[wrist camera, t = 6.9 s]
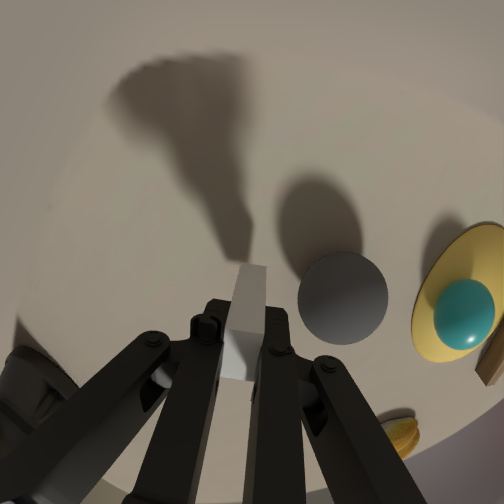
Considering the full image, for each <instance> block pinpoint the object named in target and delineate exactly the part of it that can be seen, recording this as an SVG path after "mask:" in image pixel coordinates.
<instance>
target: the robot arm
mask: <svg viewBox="0 0 504 504" xmlns="http://www.w3.org/2000/svg"><path fill="white" fill-rule="evenodd" d="M265 300H266V266H260V265H254V264H247V263H241V265H240V269H239V273H238V277H237V281H236V285H235V289H234V293H233V297H232V301H225V300H219V299H212V300H211V301H209V302H208V303H207V305H206V307H205V310H204V312H203V314H198V315H196V316H194V317H193V318H192V319H191V323H190V338H189V339H186V340H180V341H170V339H169V337H168V336H167V335H166V334H165V333H163V332H160V331H147V332H144V333H142V334H140V335H139V336H138V337H137V338H136V339H135V340H133V341H132V342H131V343H130V344H129V345H128V346H127V347H125V348H124V349H123V350H122V351H121V352H120V353H119V354H118V355H117V356H115V357H114V358H113V359H112V360H111V361H110V362H109V363H108V364H106V365H105V366H104V367H103V368H102V369H101V370H100V371H99V372H98V373H96V374H95V375H94V376H93V377H92V378H91V379H90V380H89V381H88V382H86V383H85V384H84V385H83V386H82V387H81V388H80V389H78V388H77V386H76V385H75V384H74V383H73V382H72V381H71V380H70V379H69V378H68V377H67V376H66V375H65V374H64V373H63V372H62V371H61V370H60V369H58V368H57V367H56V366H55V365H54V364H53V363H51V362H50V361H49V360H48V359H46V358H45V357H44V356H42V355H41V354H39V353H38V352H36V351H34V350H32V349H30V348H28V347H24V346H18V347H16V348H15V349H14V350H13V351H12V352H11V353H10V354H9V355H8V357H7V358H6V361H5V367H4V369H3V371H2V373H1V375H0V504H80V503H81V502H82V500H83V499H84V498H85V497H86V495H87V494H88V493H89V492H90V491H91V489H92V488H93V487H94V486H95V485H96V484H97V482H98V481H99V480H100V479H101V478H102V476H103V475H104V474H105V473H106V472H107V470H108V469H109V468H110V467H111V465H112V464H113V463H114V462H115V461H116V459H117V458H118V457H119V456H120V454H121V453H122V452H123V451H124V449H125V448H126V447H127V446H128V444H129V443H130V442H131V441H132V439H133V438H134V437H135V436H136V434H137V433H138V432H139V431H140V429H141V428H142V427H143V426H144V424H145V423H146V422H147V420H148V419H149V418H150V417H151V415H152V414H153V413H154V412H155V410H156V409H157V408H158V406H159V405H160V404H161V403H162V401H163V400H164V399H165V397H166V396H167V397H166V400H165V403H164V405H163V408H162V411H161V413H160V416H159V419H158V421H157V424H156V427H155V430H154V432H153V435H152V438H151V441H150V443H149V446H148V449H147V452H146V455H145V457H144V460H143V463H142V466H141V469H140V472H139V475H138V477H137V480H136V483H135V486H134V489H133V491H132V492H131V493H130V494H128V495H126V497H125V498H124V499H123V501H122V504H195V500H196V495H197V490H198V485H199V480H200V475H201V470H202V465H203V460H204V455H205V450H206V445H207V440H208V435H209V430H210V426H211V421H212V416H213V411H214V406H215V401H216V396H217V391H218V387H219V378H220V377H225V378H231V379H238V380H245V381H253V382H254V380H255V383H254V387H253V391H252V396H251V400H250V401H252V404H251V416H250V428H249V439H248V450H247V461H246V471H245V482H244V492H243V502H242V504H306V487H305V468H304V452H303V437H302V423H303V425H304V428H305V430H306V433H307V436H308V438H309V441H310V443H311V446H312V448H313V451H314V453H315V456H316V458H317V461H318V464H319V466H320V469H321V471H322V474H323V476H324V479H325V481H326V484H327V486H328V488H329V491H330V493H331V496H332V498H333V501H334V503H335V504H427V503H426V501H425V499H424V498H423V496H422V494H421V492H420V490H419V489H418V487H417V485H416V484H415V482H414V480H413V478H412V476H411V475H410V473H409V471H408V470H407V468H406V466H405V465H404V463H403V461H402V459H401V458H400V456H399V454H398V453H397V451H396V449H395V448H394V446H393V444H392V443H391V441H390V439H389V438H388V436H387V434H386V433H385V431H384V429H383V428H382V426H381V424H380V423H379V421H378V419H377V418H376V416H375V414H374V413H373V411H372V409H371V408H370V406H369V404H368V403H367V401H366V400H365V398H364V396H363V395H362V393H361V391H360V390H359V388H358V387H357V385H356V383H355V382H354V380H353V379H352V377H351V375H350V374H349V372H348V370H347V369H346V367H345V366H344V364H343V363H342V362H341V361H340V360H339V359H337V358H335V357H332V356H328V355H322V356H318V357H317V358H315V359H314V361H311V360H307V359H305V358H302V357H300V356H298V355H297V354H296V353H295V350H294V348H293V347H292V346H291V343H290V332H289V322H288V314H287V313H286V311H285V310H284V309H283V308H277V307H270V306H265ZM301 420H302V423H301Z"/></svg>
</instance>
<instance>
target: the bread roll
mask: <svg viewBox="0 0 504 504" xmlns="http://www.w3.org/2000/svg"><path fill="white" fill-rule="evenodd" d="M381 426H382V428H383V429H384V431H385V433H386V434H387V436H388V438H389V439H390V441H391V443H392V444H393V446H394V448H395V449H396V451H397V453H398V454H399V456H400V458H401V459H404V458H405V457H407V456H408V455H409V454H410V453H411V452H412V450H413V449H414V448H415V446H416V445H417V443H418V441H419V438H420V433H419V429H418V428H417V421H416V420H415V419H414V418H412V417H405V418H399V419H394V420H390V421H386V422H384V423H382V424H381Z"/></svg>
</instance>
